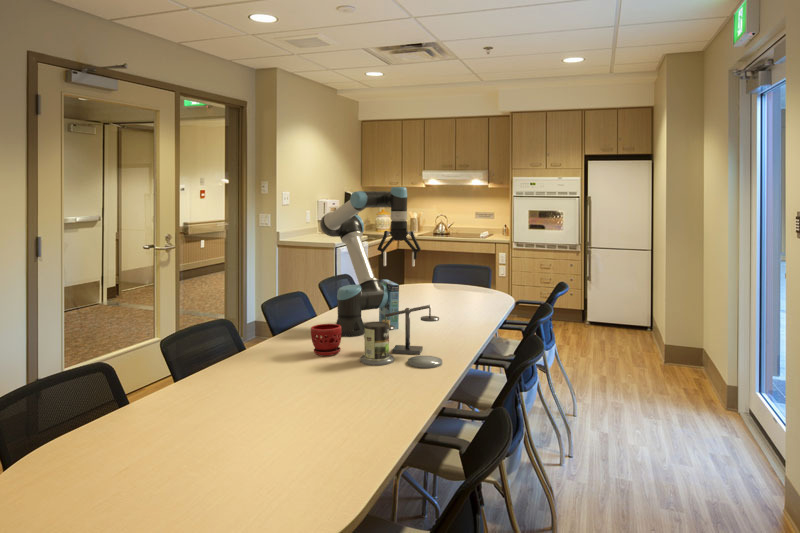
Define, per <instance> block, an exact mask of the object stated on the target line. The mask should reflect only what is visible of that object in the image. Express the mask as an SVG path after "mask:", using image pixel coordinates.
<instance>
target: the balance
mask: <svg viewBox="0 0 800 533" xmlns="http://www.w3.org/2000/svg"><path fill="white" fill-rule="evenodd" d="M431 308H432V306H431V304H428V305H421V306H417V307H413V308H410V307H405V309H402V310H399V311H398V312H393V313H388V314H385V320H382V321H381V322H386V323H388V324H389V332H390V331H394V330H396V329H395V326H393V325H390V320H386V317H390V316H394V315H403V314H405V318H404V320H405V321H404V322H405V323H404V325H405V327H404V328H405V329H404V330H405V332H404V334H405V336H404V337H405V338H404V340H405V341H404V344H405V345H403V344H402V345H399V344H396V345H394V346H393V348H392V350H391V351H392V354H400V355H415V354H418V355H417V356H421V354H420V353H422V352H423V348H424V347H423V346H422V345H411V312H417V311H421V310H426V309H427V310H429V312H428V315H424V316H423V315H422V316H421V317H420V321H422V322H426V323H427V322H429V323H431V322H432V323H433V322H438V321H440V317H439V316H435V315H431V313H432V310H431Z"/></svg>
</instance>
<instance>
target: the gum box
mask: <svg viewBox="0 0 800 533" xmlns="http://www.w3.org/2000/svg"><path fill="white" fill-rule="evenodd" d="M378 280H379V282H380V285H384V286H386V288H387V290H388V301H387V303H386V305H385V306H384V307H382V308H378V322H381V321H382V320H385V314H388V313H393V312H398V311H400V304H399V303H400V284H398V283H396V282H395V281H391V280H389V279H378ZM399 315H400V314H399ZM399 315H394V316H390V317H386V320H390V325H393V326H395V329H394V330H398V329H399V324H400V323H399V319H400V318H399V317H400V316H399Z"/></svg>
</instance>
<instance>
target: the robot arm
mask: <svg viewBox="0 0 800 533" xmlns="http://www.w3.org/2000/svg"><path fill="white" fill-rule="evenodd" d="M368 208H369V209H371V208H390V220H391V222H390V230H385V231H384V232H383V236H382V238H381V240H380V242H379V244H378V247H377V248H376V249H377V251H379V252H380V253H381V255H380V256H381V257H380V258H381V259H382V260H383V267H387V251H386V250H387V249H388V247H389V246H390V245H391V244H392V243H393V242H394V241H399V242H400V241H402V242H403V241H404V242H405V243H406V244H407V245H408V247H409V248H410V249H411V250H412V252H411V267H415V265H416V264H415V263H416V262H415V261H416V260H417V259H418V252H420V251H421V250H422V249H421V247H420V245H419V243H418V240H417V238H416V236H415V232H414V230H411V231H408V221H407V220H408V189H407V187H405V186H393V187H391V188H390V191H388V190H386V191H385V190H383V191H382V190H380V191H379V190H377V191H373V190H370V191H369V190H366V191H365V190H363V191H362V190H359V191H357V190H356V191H352V193H351V195H350V198H349V200H348V201H346V202H344V204H342V205H340V206H339V207H338V208H336V209H334V210H333V211H330V212H327V213H326V214H324V215H323V216H322V217H321V219H320V222H319V224H320V225H319V227H320V229H321V231H322V232H323V233H324V234H325V235H326V236H329V237H331V238H332V237H333V238H337V237H338V238H339V239H340V241H341V243H343V244H345V247H346V249H347V252H348V255H349V258H350V261H351V263H352V267H353V270H354V273H355V276H356V279H357V281H358V284H347V285H343V286H340V287H339V288H338V290H337V293H336V294H337V295H336V299H337V300H336V301H337V319H336V321H335V324H338V325H340V326H341V337H358V336H363V335H364V324H365V323H364V322H363V319H362V312H363V311H369V310H370V311H371V310H377V309H378V310H379V308H382V307H384V306H385V305H386V303H387V301H388V290H387V288H386V286H384V285H380V282H379V280H380V279H378V278H376V277H375V274H374V272H373V269H372V266H371V263H370V260H369V258H368V255H367V252H366V249H365V247H364V243H363V240H362V237H363V233H364V231H365V228H364V227H365V223H364V221H363V218H362V217H361V216H360V215H359V213H361V212H362V211H364V210H365V209H368ZM389 235H390V236H391V238H390V239H389V240H388V241H387V243H386V244H385V245H384V243H385V242H386V239H387V237H388V236H389ZM408 235H409V237H411V239H412V242H413V244H414V245H413V244H412V242H411V241H410V240H409V238H408Z"/></svg>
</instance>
